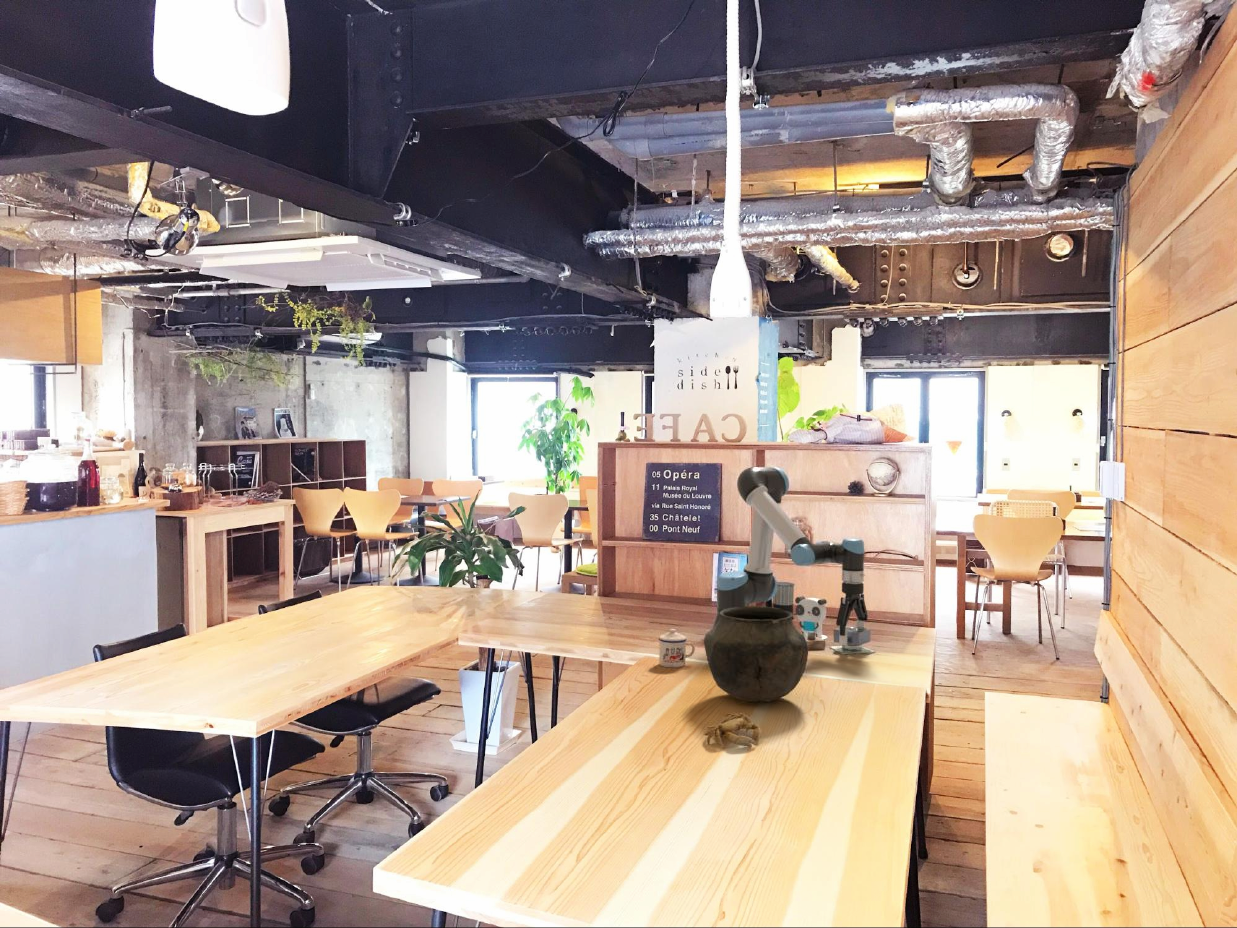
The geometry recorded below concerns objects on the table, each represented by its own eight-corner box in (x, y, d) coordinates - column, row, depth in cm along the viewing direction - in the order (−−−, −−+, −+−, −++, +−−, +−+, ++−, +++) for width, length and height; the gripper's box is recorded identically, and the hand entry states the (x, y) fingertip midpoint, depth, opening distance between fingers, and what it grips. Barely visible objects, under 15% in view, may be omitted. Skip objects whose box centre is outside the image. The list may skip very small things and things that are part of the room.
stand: (807, 649, 320) (807, 634, 320) (798, 645, 327) (798, 630, 327) (824, 648, 322) (825, 633, 322) (815, 644, 329) (815, 629, 328)
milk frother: (797, 617, 381) (797, 582, 381) (783, 623, 368) (783, 587, 368) (766, 614, 389) (766, 580, 389) (751, 619, 376) (751, 584, 376)
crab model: (743, 755, 209) (744, 732, 209) (696, 744, 217) (696, 722, 217) (772, 738, 222) (772, 716, 222) (726, 728, 229) (727, 706, 229)
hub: (844, 654, 313) (844, 631, 313) (829, 647, 324) (829, 625, 324) (875, 652, 316) (875, 629, 316) (858, 645, 327) (859, 624, 327)
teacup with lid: (660, 668, 291) (661, 632, 291) (656, 661, 300) (656, 626, 300) (697, 667, 292) (697, 631, 292) (691, 660, 301) (692, 626, 301)
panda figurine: (789, 636, 342) (789, 597, 341) (805, 632, 350) (805, 594, 350) (817, 641, 334) (817, 601, 333) (832, 637, 342) (833, 598, 342)
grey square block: (858, 645, 313) (858, 632, 313) (833, 641, 319) (833, 629, 319) (870, 641, 321) (870, 628, 321) (845, 637, 327) (845, 625, 327)
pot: (742, 721, 235) (743, 626, 234) (686, 691, 264) (686, 606, 263) (833, 709, 246) (835, 618, 246) (770, 681, 275) (771, 600, 275)
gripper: (846, 587, 308) (845, 648, 308) (877, 579, 327) (876, 637, 327) (826, 584, 313) (825, 645, 313) (858, 577, 332) (857, 634, 332)
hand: (851, 641), depth 320 cm, fingers open, 13 cm apart
